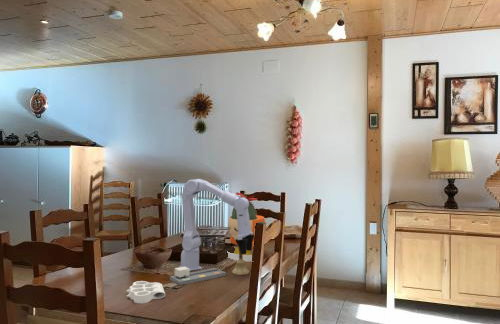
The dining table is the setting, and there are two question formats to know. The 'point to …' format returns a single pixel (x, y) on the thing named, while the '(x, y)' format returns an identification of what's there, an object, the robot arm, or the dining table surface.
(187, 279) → the selector board
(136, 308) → the dining table surface
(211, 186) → the robot arm
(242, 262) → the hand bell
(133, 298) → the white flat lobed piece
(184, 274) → the white block
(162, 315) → the dining table surface
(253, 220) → the potted cactus
